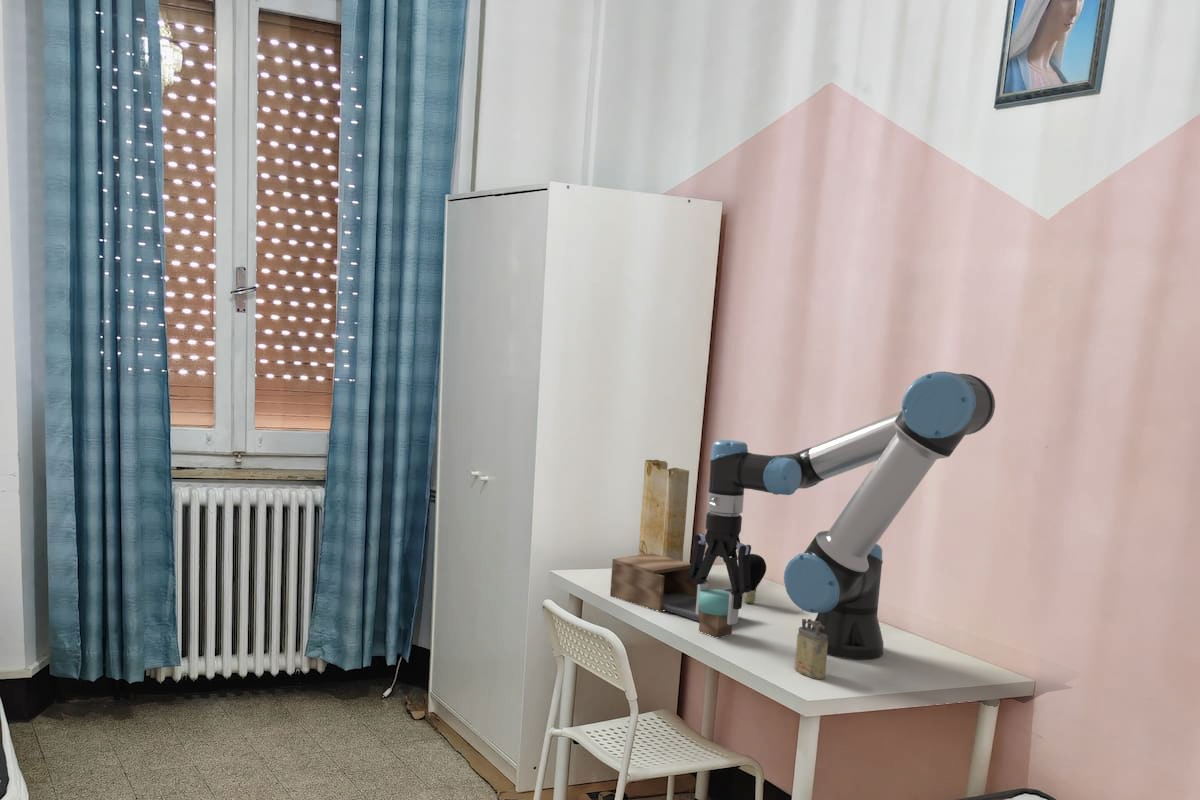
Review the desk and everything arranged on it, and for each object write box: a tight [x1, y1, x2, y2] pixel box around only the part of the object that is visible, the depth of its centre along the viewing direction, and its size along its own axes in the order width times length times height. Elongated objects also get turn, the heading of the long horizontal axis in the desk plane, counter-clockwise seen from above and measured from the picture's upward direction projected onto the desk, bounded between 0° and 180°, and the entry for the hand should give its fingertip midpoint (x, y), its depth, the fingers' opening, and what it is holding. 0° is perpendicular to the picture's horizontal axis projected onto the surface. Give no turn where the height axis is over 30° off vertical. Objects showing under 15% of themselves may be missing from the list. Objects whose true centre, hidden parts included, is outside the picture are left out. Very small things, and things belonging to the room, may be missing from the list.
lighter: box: [793, 618, 828, 680], centre depth 186 cm, size 7×4×10 cm, turn 28°
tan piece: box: [638, 459, 690, 562], centre depth 258 cm, size 23×6×30 cm, turn 13°
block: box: [698, 611, 733, 638], centre depth 209 cm, size 5×5×5 cm
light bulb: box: [743, 553, 767, 604], centre depth 237 cm, size 7×7×12 cm
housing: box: [609, 553, 695, 612], centre depth 234 cm, size 16×14×9 cm
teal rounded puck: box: [698, 588, 731, 616], centre depth 209 cm, size 8×8×4 cm
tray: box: [662, 586, 733, 622], centre depth 226 cm, size 18×13×6 cm
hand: (716, 618), depth 209 cm, fingers closed on teal rounded puck, 8 cm apart
